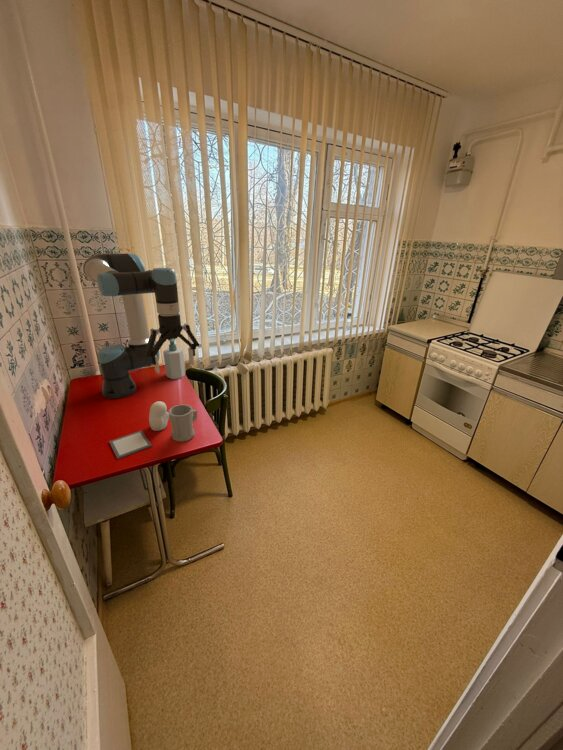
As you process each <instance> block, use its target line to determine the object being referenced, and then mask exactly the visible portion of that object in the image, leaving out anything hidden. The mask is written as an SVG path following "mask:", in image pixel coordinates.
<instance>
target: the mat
mask: <svg viewBox="0 0 563 750" xmlns="http://www.w3.org/2000/svg"><path fill="white" fill-rule="evenodd" d="M108 442H109V445H110V446H111V448H112V451H113V453H114V454H115V457H116V459H117V460H120V459H123V458H126V457H127V456H130V455H132V454H136V453H138V452H141V451H143V450H146V449H149V448H151V447H153V446H152V444H151V441H149V439H148V438H147V436H146V435H145V433H144V432H143V430H139V431H136V432H132V433H130V434H126V435H123V436H120V437H118V438H115V439H112V440H109V441H108Z"/></svg>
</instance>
